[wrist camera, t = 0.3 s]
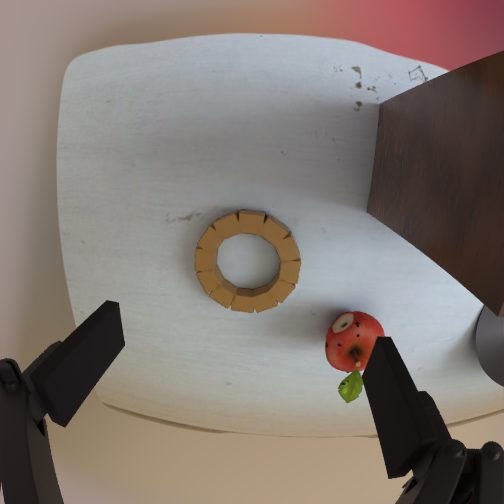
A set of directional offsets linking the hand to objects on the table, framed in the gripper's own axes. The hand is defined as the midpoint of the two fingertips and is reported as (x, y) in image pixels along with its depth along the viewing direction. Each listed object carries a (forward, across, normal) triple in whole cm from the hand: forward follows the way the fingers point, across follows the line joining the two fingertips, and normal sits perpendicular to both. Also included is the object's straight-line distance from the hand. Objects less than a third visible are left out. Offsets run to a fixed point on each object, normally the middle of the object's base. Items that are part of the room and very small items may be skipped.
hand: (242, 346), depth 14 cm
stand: (+19, +17, +10) cm, 27 cm away
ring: (+19, -2, -2) cm, 19 cm away
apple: (+19, +12, -10) cm, 24 cm away
